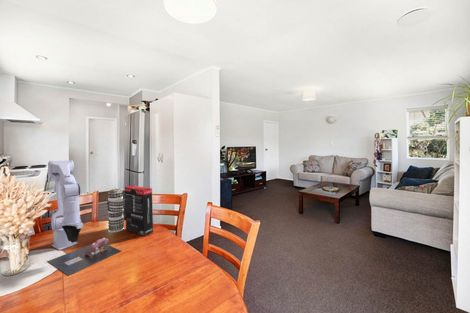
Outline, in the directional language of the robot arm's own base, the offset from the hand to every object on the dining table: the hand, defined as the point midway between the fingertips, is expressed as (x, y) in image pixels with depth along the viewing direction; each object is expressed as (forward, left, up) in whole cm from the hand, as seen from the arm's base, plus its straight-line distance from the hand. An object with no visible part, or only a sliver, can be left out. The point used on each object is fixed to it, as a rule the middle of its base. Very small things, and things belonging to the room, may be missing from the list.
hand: (72, 240), depth 93 cm
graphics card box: (-3, +35, -10) cm, 36 cm away
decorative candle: (-18, +30, -10) cm, 36 cm away
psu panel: (0, +5, -9) cm, 11 cm away
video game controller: (0, +10, -9) cm, 14 cm away
